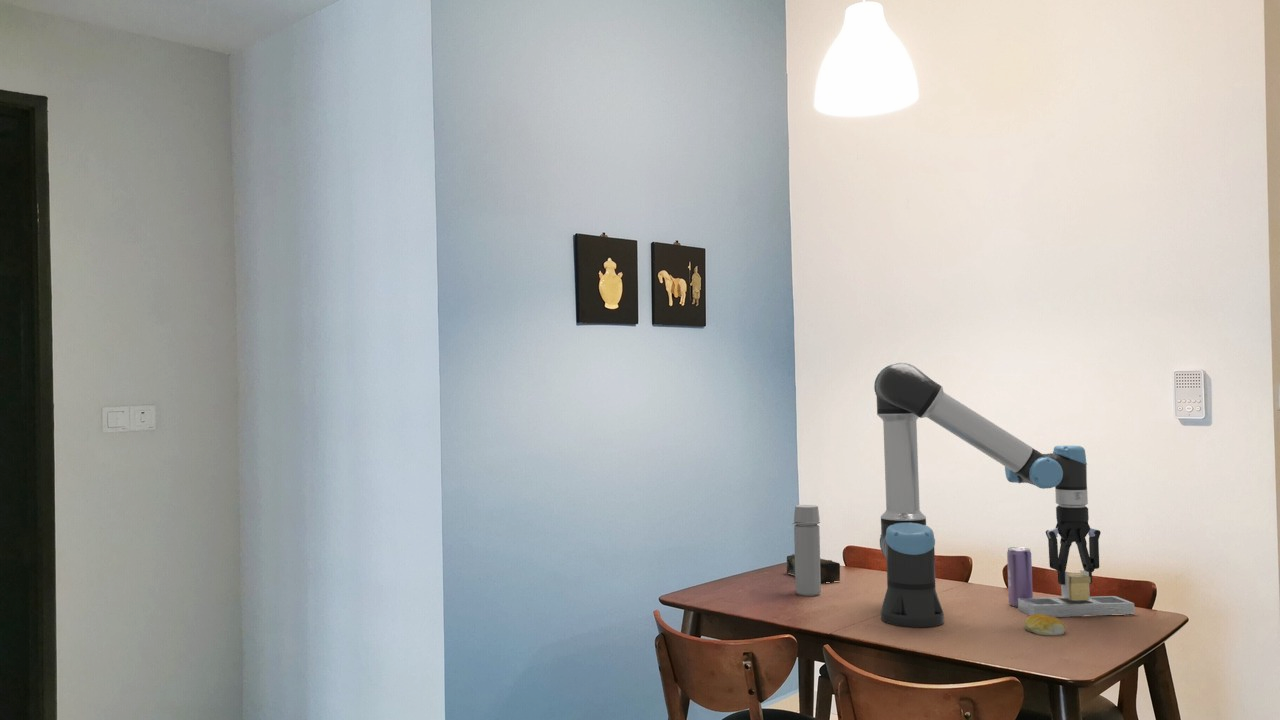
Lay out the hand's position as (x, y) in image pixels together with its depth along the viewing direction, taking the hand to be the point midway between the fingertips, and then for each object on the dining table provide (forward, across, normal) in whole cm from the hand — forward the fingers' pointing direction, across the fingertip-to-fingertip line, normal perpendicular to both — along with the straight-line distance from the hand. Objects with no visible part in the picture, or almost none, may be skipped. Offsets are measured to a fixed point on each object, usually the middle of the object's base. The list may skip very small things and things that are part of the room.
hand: (1075, 596), depth 233 cm
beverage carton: (+4, -56, +52) cm, 77 cm away
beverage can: (+4, -10, +9) cm, 14 cm away
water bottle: (+4, -63, +30) cm, 70 cm away
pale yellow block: (0, 0, 0) cm, 0 cm away
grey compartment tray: (+4, 0, 0) cm, 4 cm away
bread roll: (+4, -17, -17) cm, 24 cm away
